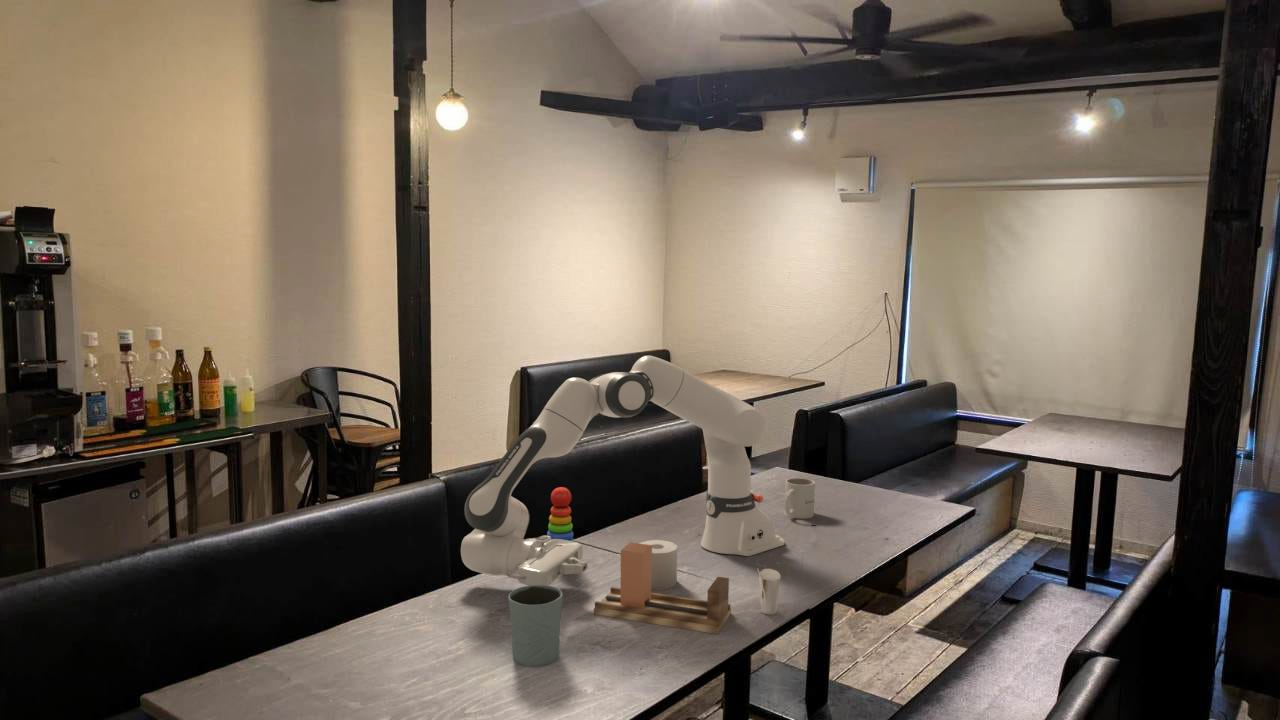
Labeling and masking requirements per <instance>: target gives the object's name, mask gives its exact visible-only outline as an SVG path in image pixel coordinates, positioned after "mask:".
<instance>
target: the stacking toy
mask: <svg viewBox="0 0 1280 720" xmlns="http://www.w3.org/2000/svg"><path fill="white" fill-rule="evenodd" d="M550 501H551V504H553V506H552V507H551V508H550V515H549V517H548V520H549V523H548V527H547V528H548V531H547V533H546V536H550V537H551V540H552V539H562V540H568V541H573V542H575V540H574V538H573V537H574V531H573V527H574V526H573V523H572V516H571V515H570V514H571V513H572V509H571V507H570V506H569V505H570V503H571V501H572V493H571V491H570V490H569V489H568V488H567V487H563V486H561V487H560V486H559V487H556V488H554V490H552V492H551V494H550Z"/></svg>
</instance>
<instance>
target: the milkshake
mask: <svg viewBox="0 0 1280 720" xmlns="http://www.w3.org/2000/svg"><path fill="white" fill-rule="evenodd" d="M757 572H758V578H759V580H758V581H759V595H760V596H759V597H760V598H759V599H760V601H759V602H760V612H761V613H762V614H764V615H770V616H771V615H772V616H773V615H775V614H777V610H778V602H779V592H780V584H781V583H780V582H781V576H782V575H781V574H780V572H779V571H777V570H775V569H772V568H764V569H762V570H761V571H760V570H759V568H758V567H757Z"/></svg>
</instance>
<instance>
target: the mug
mask: <svg viewBox="0 0 1280 720" xmlns="http://www.w3.org/2000/svg"><path fill="white" fill-rule="evenodd" d="M784 486H785V487H784V488H785V489H784V491H785V492H784V515H785V516H786V517H789V518H792V519H801V520H802V519H810V518H813V517H814V515H815V514H814V513H815V492H816V491H815V487H816V482H815V481H814V480H812V479H810V478H809V479H808V478H804V477H792V478H790V477H789V478H787V479H786V480H785V485H784Z"/></svg>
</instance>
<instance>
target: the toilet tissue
mask: <svg viewBox="0 0 1280 720" xmlns="http://www.w3.org/2000/svg"><path fill="white" fill-rule="evenodd" d="M638 543H639V544H647V545H652V581H651V591H657V590H658V591H659V590H660V591H661V590H668V589H671V588H673V587H676V585H677V581H678V575H677V574H678V545H677V544H675V543H674V542H672V541H667V540H661V539H655V540H652V539H651V540H644V541H641V542H638ZM620 566H621V563H620Z"/></svg>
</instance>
